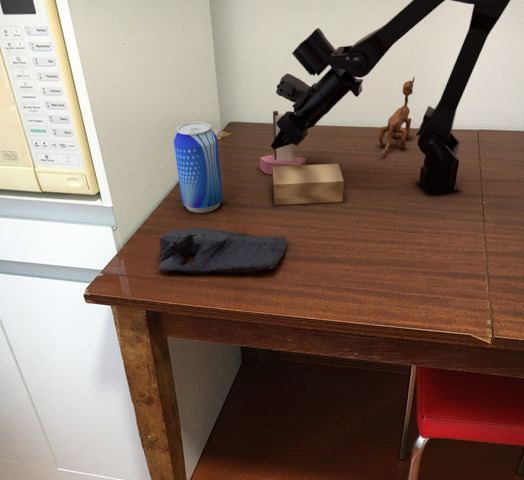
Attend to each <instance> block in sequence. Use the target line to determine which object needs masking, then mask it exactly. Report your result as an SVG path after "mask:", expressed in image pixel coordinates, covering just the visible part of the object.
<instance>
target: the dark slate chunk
mask: <svg viewBox="0 0 524 480" xmlns="http://www.w3.org/2000/svg"><path fill="white" fill-rule="evenodd" d="M287 245H288V242H287V240H286V237H284V236H261V235H253V234H252V235H251V234H247V233H241V232H238V231H237V232H235V231H229V230H221V229H213V228H201V227H198V228H197V227H190V228H187V229H175V230H169V231H167V232H166V234H163V236H161V237H160V238H159V255H160V258H159V259H160V263H159V265H158V268H157V270H159V271H160V272H165V273H171V272H182V273H184V274H187V273H190V274H194V273H197V274H209V273H220V274H221V273H222V274H223V273H228V274H233V273H244V274H245V273H251V274H255V273H256V272H260V271H267V270H271V269H272V270H273V269H274V268H275V267H276V266H277V265H278V264H279V261H280V259H281V258H282V257H283V256H284V252H285V251H286V249H287ZM190 256H194V257H193V262H190V263H187V264H185V262H186V261H187V259H188V257H190Z"/></svg>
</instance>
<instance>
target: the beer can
mask: <svg viewBox="0 0 524 480" xmlns="http://www.w3.org/2000/svg"><path fill="white" fill-rule="evenodd" d="M176 131H177V132H176V134H175V137H174V139H173V147H174V153H175V154H174V155H175V160H176V161H175V162H176V167H177V169H176V170H177V176H178V183H179V190H180V197H181V203H182V204H183V206H185V207H186V209H187V211H189V212H193V213H197V214H203V213H210V212H213V211H215V210H217V209H218V208H220V204H221V203H222V202H223V200H224V197H223V195H224V194H223V187H222V185H223V184H222V174H221V164H220V153H219V144H218V143H219V142H218V135H216V133H215V132H214V131H213V129H212V125H211V124H210V123H208V122H204V121H190V122H186V123H182V124H179V126H177V128H176Z"/></svg>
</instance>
